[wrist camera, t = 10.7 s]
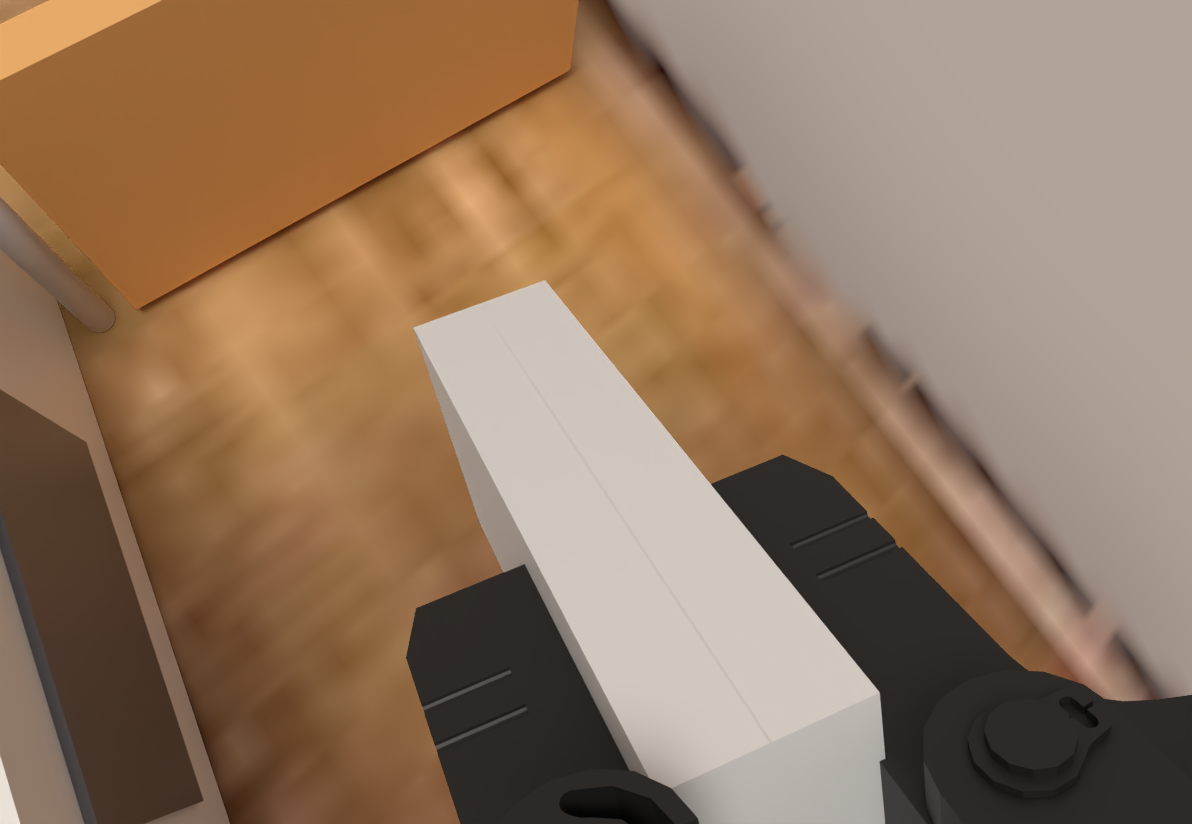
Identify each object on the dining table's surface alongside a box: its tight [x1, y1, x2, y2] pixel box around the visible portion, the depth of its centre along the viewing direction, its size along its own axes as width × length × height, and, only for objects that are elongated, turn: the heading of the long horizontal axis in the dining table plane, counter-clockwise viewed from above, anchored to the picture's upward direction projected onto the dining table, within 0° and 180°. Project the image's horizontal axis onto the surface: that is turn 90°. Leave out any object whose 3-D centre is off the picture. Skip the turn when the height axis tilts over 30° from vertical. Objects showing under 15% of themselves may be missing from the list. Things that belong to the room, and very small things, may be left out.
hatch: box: [0, 0, 579, 310], centre depth 27 cm, size 14×2×11 cm, turn 124°
